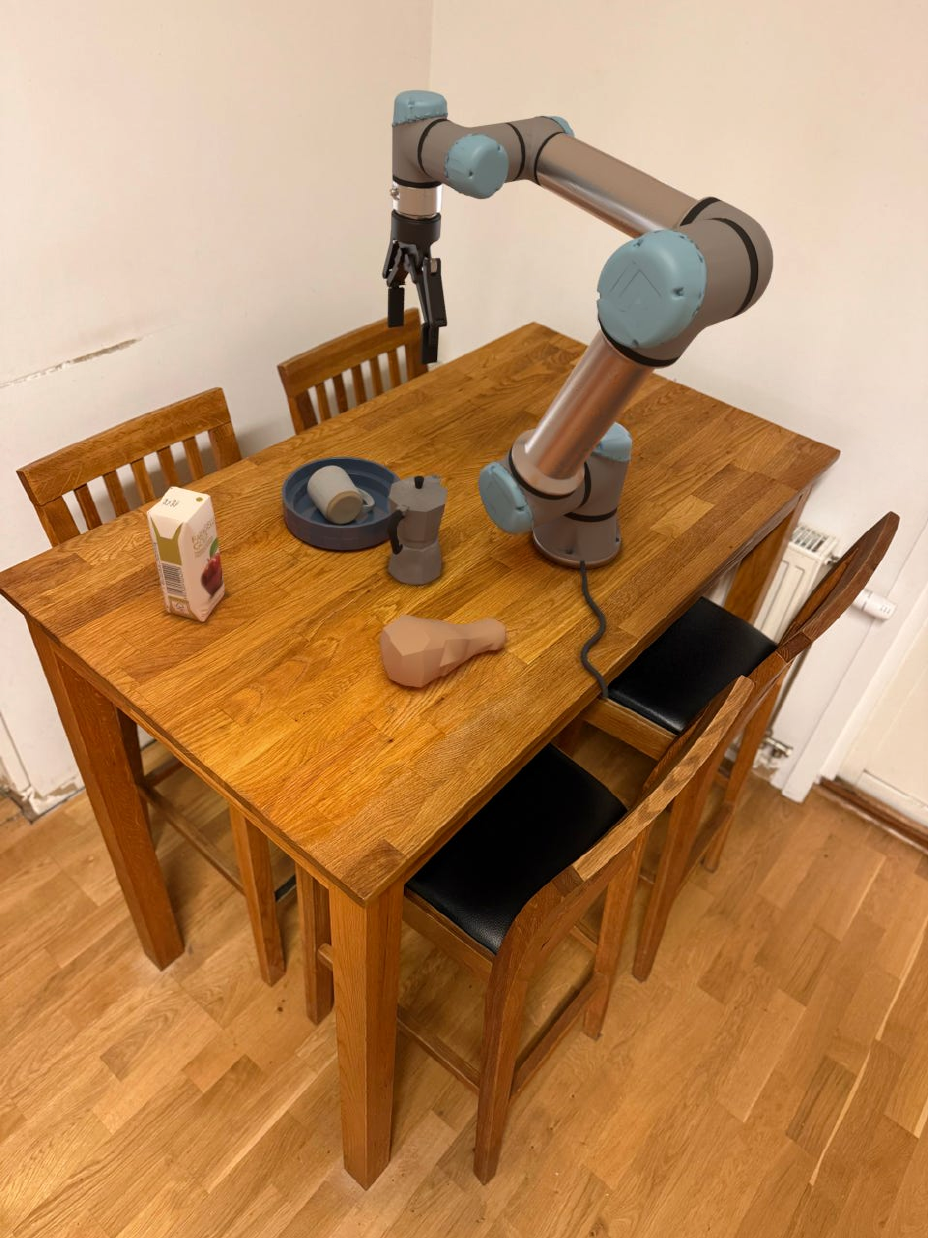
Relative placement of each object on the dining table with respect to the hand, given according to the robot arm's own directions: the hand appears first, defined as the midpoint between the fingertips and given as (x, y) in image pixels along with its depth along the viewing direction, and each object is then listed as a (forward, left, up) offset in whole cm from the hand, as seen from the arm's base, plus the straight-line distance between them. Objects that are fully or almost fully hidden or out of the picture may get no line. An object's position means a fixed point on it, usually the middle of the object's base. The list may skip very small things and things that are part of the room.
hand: (411, 343), depth 147 cm
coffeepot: (-25, +10, -27) cm, 38 cm away
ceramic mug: (-6, +15, -26) cm, 31 cm away
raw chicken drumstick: (-45, +14, -27) cm, 54 cm away
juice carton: (-20, +44, -27) cm, 55 cm away
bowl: (-7, +15, -27) cm, 31 cm away
